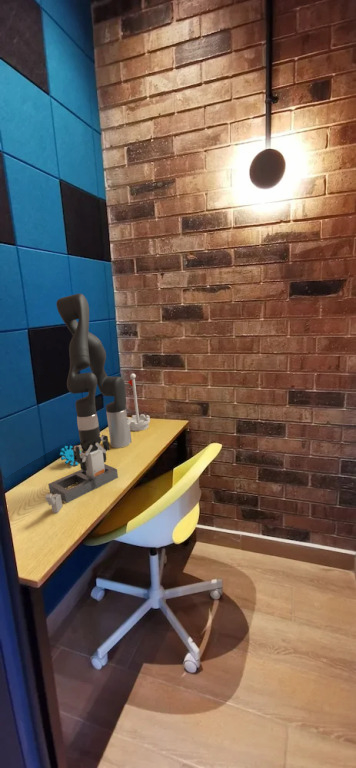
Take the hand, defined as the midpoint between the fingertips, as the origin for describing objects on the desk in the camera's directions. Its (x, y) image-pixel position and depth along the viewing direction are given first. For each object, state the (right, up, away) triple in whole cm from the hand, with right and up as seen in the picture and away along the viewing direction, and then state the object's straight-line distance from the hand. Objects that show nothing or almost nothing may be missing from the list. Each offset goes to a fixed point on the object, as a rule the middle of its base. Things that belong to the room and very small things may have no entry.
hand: (94, 466), depth 134 cm
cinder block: (-3, -7, -2) cm, 8 cm away
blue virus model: (-13, -3, +18) cm, 23 cm away
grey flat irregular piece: (-8, -11, -19) cm, 23 cm away
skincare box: (+1, -6, +1) cm, 6 cm away
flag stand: (+11, +7, +57) cm, 59 cm away
